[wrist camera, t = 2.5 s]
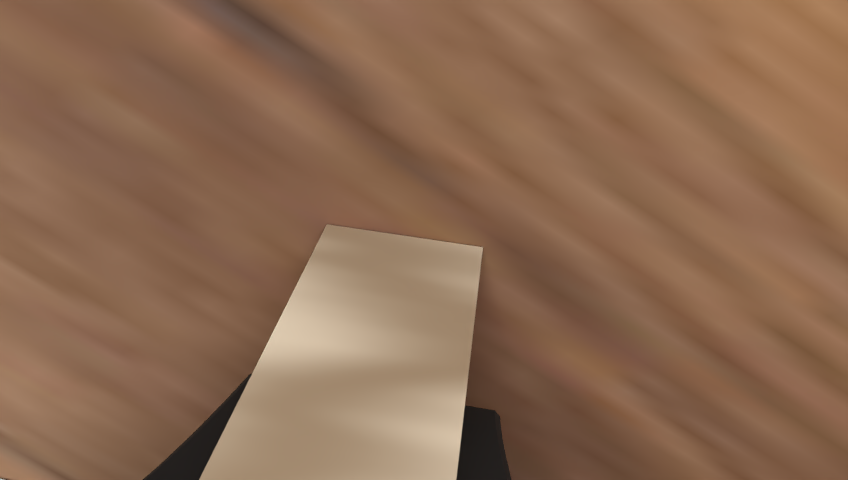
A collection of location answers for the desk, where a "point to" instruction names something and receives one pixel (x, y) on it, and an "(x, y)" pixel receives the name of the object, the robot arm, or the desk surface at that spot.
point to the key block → (361, 366)
